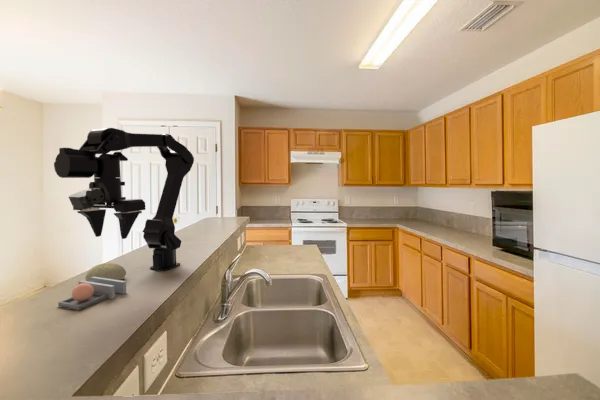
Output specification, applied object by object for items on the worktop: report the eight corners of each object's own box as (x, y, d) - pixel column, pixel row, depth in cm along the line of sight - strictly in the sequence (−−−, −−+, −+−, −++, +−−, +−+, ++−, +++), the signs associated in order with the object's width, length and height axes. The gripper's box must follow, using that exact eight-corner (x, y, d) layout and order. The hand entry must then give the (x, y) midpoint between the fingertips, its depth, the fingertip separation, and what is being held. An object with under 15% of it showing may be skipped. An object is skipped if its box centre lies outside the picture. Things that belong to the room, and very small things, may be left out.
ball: (68, 303, 64) (66, 286, 64) (86, 296, 68) (84, 280, 67) (80, 305, 63) (78, 287, 62) (98, 297, 66) (97, 281, 66)
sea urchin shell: (109, 282, 73) (89, 259, 74) (92, 301, 75) (73, 279, 75) (136, 270, 82) (118, 250, 83) (120, 288, 84) (103, 268, 84)
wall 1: (82, 292, 71) (81, 280, 71) (115, 297, 68) (114, 285, 68) (79, 293, 70) (78, 281, 70) (112, 299, 67) (111, 286, 67)
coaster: (87, 295, 69) (87, 291, 69) (107, 298, 67) (106, 294, 67) (58, 306, 63) (58, 302, 63) (78, 310, 61) (78, 306, 61)
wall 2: (94, 287, 74) (93, 276, 74) (126, 292, 71) (125, 281, 70) (91, 288, 73) (90, 277, 73) (123, 294, 70) (122, 282, 70)
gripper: (47, 178, 68) (51, 241, 70) (103, 177, 63) (107, 247, 64) (93, 178, 79) (96, 233, 80) (145, 177, 73) (148, 237, 74)
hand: (110, 237), depth 74 cm, fingers open, 9 cm apart
